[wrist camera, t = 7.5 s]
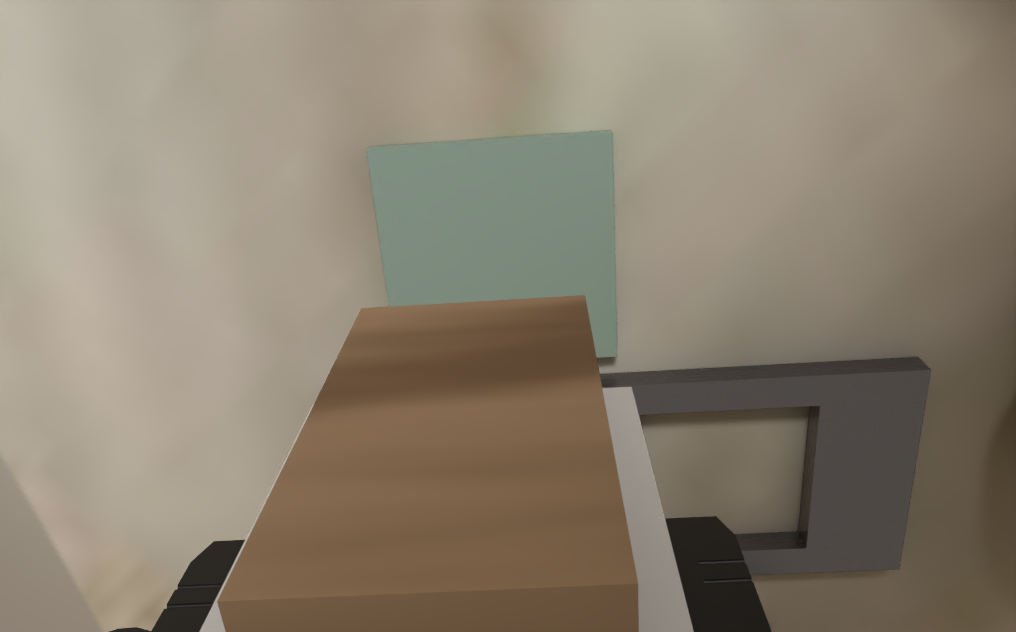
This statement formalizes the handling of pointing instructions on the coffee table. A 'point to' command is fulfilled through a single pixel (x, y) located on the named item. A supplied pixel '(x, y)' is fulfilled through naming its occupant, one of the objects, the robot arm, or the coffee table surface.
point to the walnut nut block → (448, 484)
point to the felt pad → (500, 222)
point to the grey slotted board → (819, 451)
